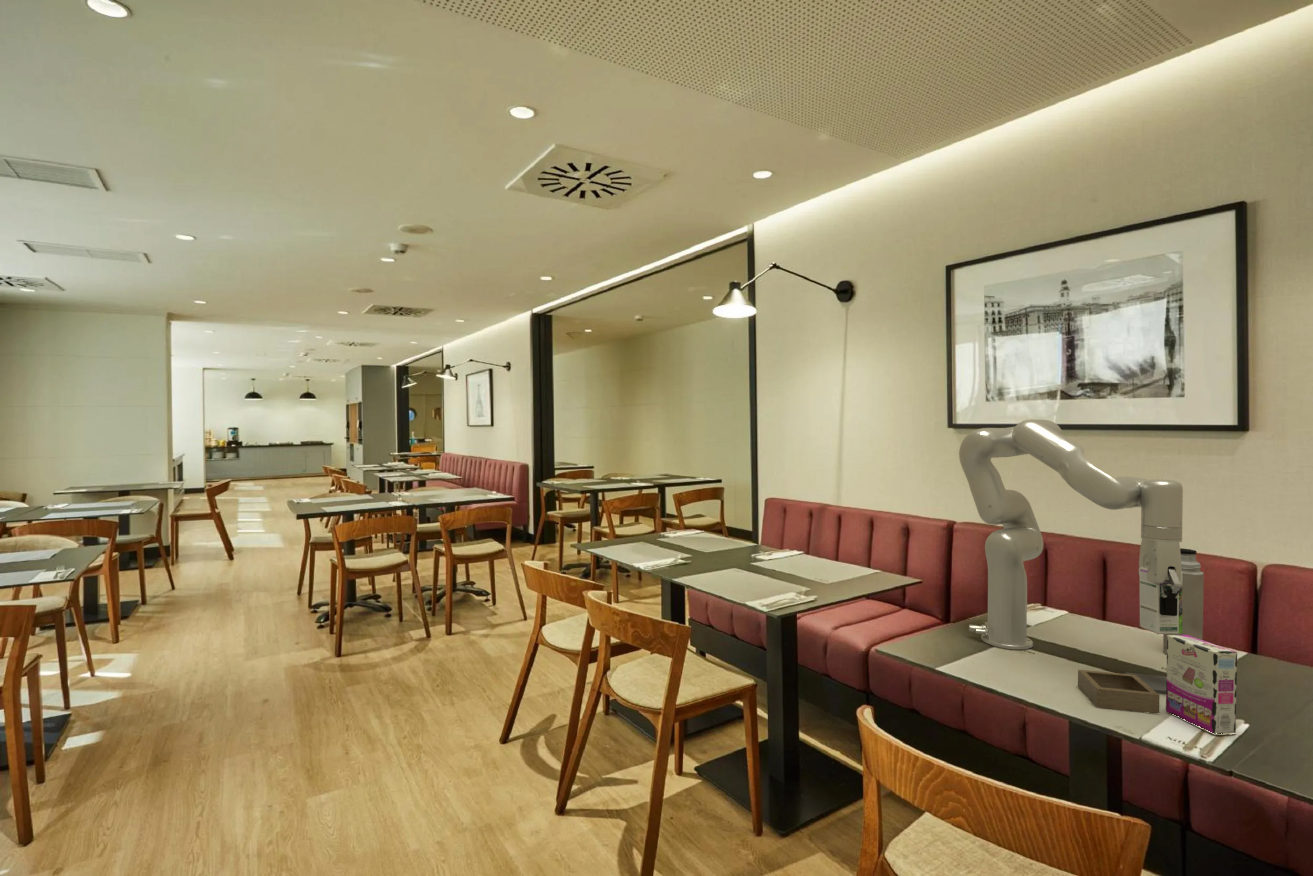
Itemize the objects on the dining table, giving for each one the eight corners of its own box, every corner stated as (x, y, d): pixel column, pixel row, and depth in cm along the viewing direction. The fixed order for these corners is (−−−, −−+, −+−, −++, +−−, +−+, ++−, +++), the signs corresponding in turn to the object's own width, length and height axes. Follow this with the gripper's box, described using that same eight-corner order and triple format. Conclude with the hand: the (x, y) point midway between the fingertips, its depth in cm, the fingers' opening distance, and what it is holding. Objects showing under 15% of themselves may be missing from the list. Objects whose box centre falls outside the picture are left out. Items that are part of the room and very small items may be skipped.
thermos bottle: (1157, 648, 175) (1159, 545, 174) (1193, 652, 172) (1195, 547, 172) (1170, 658, 167) (1172, 550, 167) (1208, 662, 165) (1210, 553, 164)
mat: (1143, 692, 146) (1143, 688, 146) (1124, 675, 156) (1124, 672, 156) (1195, 697, 144) (1195, 693, 143) (1173, 680, 153) (1173, 677, 153)
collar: (1096, 707, 138) (1096, 688, 138) (1077, 686, 149) (1078, 669, 149) (1159, 714, 135) (1159, 695, 135) (1135, 692, 146) (1135, 675, 146)
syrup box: (1157, 634, 146) (1158, 570, 146) (1138, 626, 152) (1139, 565, 152) (1183, 634, 146) (1183, 570, 146) (1162, 626, 152) (1163, 565, 152)
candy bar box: (1238, 735, 126) (1239, 651, 125) (1214, 736, 125) (1215, 652, 125) (1186, 710, 137) (1187, 633, 137) (1164, 711, 136) (1165, 634, 136)
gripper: (1126, 527, 158) (1125, 600, 159) (1159, 538, 142) (1158, 620, 142) (1162, 528, 156) (1161, 602, 157) (1200, 540, 140) (1199, 622, 140)
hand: (1160, 610), depth 149 cm, fingers closed on syrup box, 6 cm apart
